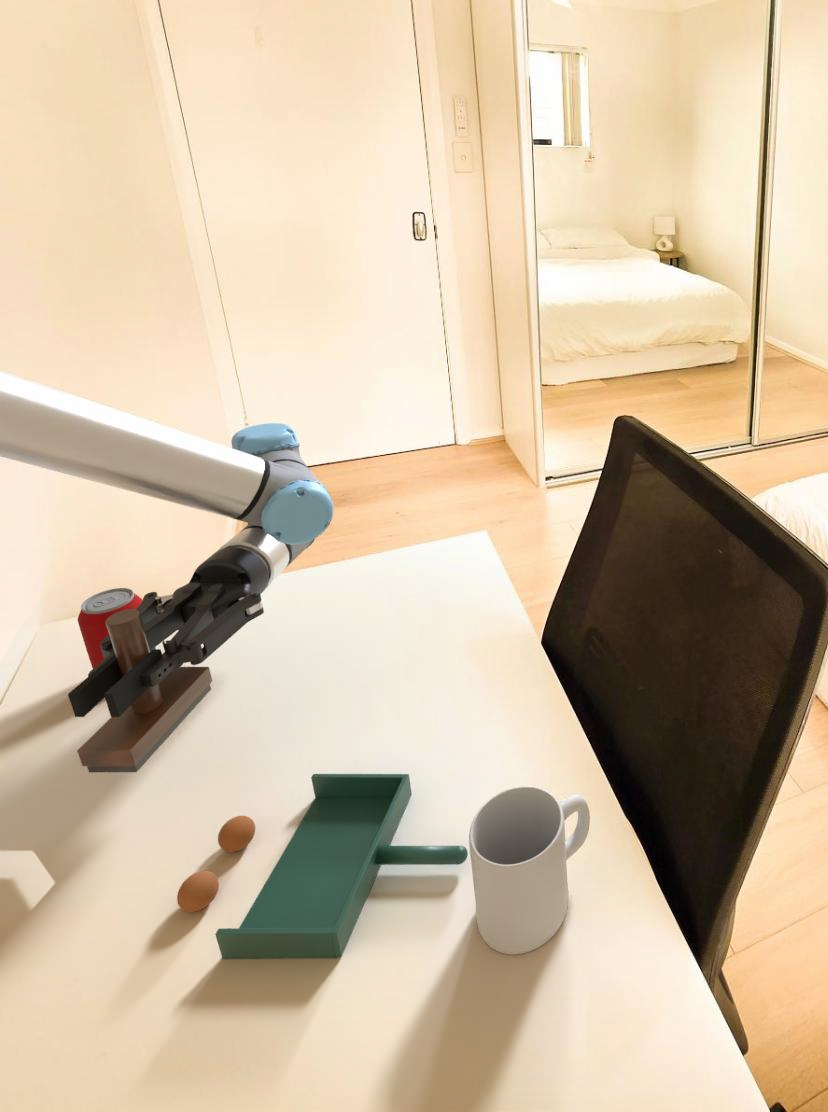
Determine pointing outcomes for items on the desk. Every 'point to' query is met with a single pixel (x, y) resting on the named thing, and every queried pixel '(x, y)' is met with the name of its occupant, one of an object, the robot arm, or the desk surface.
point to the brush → (142, 704)
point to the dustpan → (330, 869)
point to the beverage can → (103, 618)
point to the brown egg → (198, 891)
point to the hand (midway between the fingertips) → (94, 705)
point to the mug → (523, 865)
